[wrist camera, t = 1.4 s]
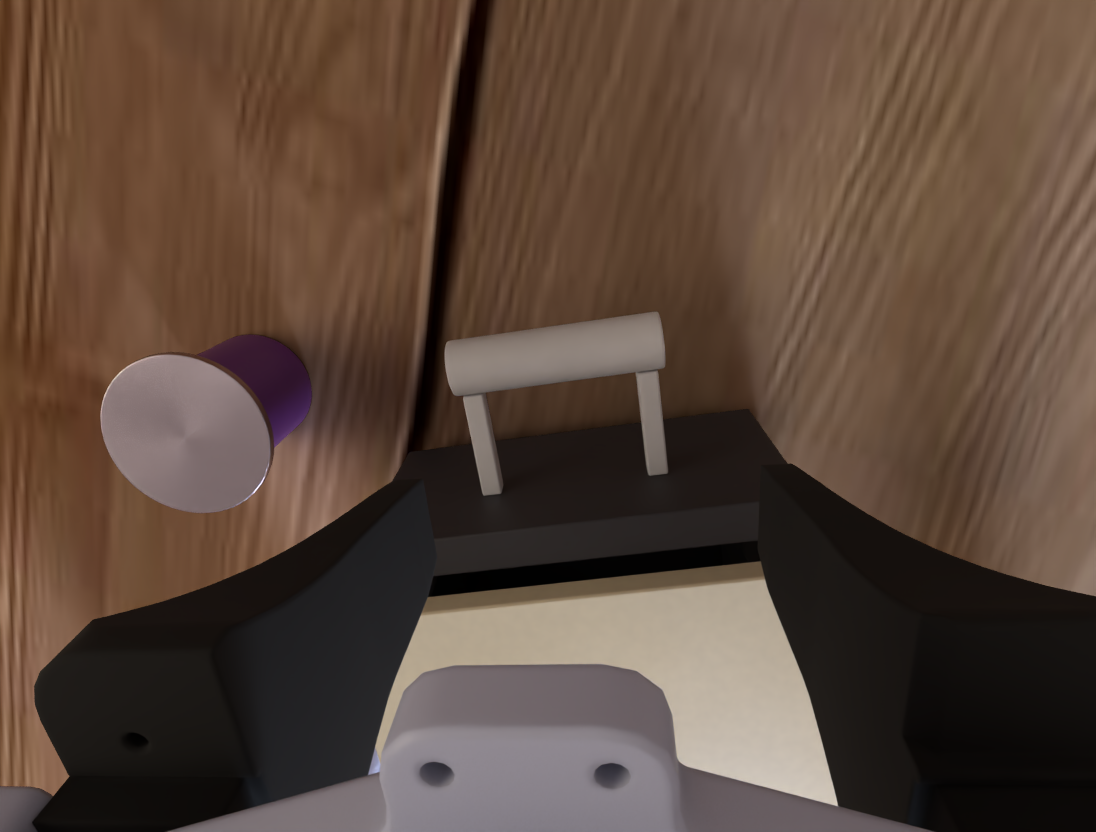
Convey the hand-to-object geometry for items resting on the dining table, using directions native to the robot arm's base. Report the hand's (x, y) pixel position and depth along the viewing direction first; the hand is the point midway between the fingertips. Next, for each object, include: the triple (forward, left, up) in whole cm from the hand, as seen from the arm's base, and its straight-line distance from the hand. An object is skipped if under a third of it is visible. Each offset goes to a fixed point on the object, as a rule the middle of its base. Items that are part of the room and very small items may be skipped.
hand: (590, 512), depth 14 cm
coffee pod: (-12, +1, -11) cm, 16 cm away
